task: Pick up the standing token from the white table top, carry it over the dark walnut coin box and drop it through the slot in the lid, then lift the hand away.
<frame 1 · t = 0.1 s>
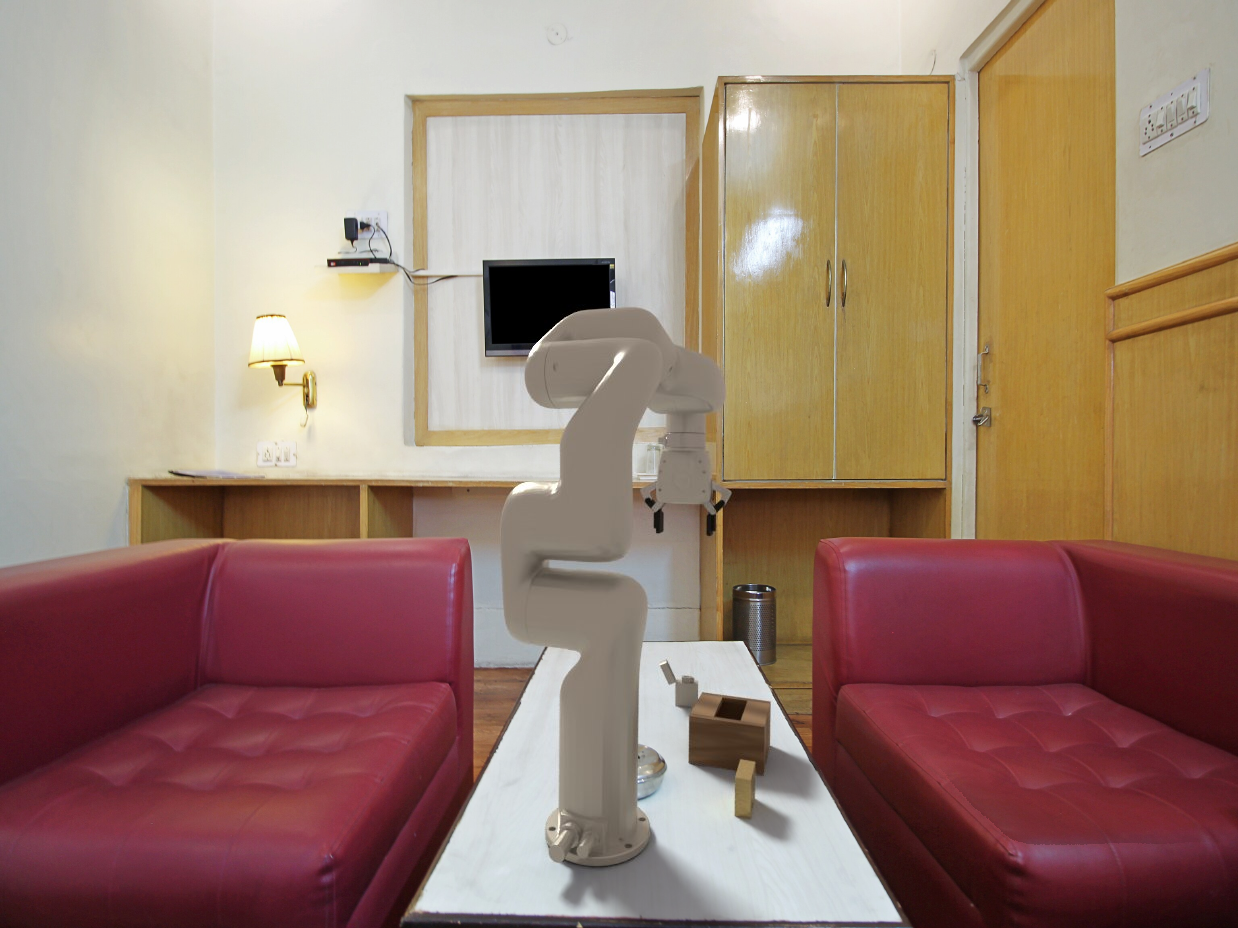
hand: (684, 534, 117), 31 cm above the table, tool pointing down, fingers open, 9 cm apart
token: (744, 807, 81), on the table
coin box: (730, 753, 95), on the table
lighter: (678, 705, 114), on the table
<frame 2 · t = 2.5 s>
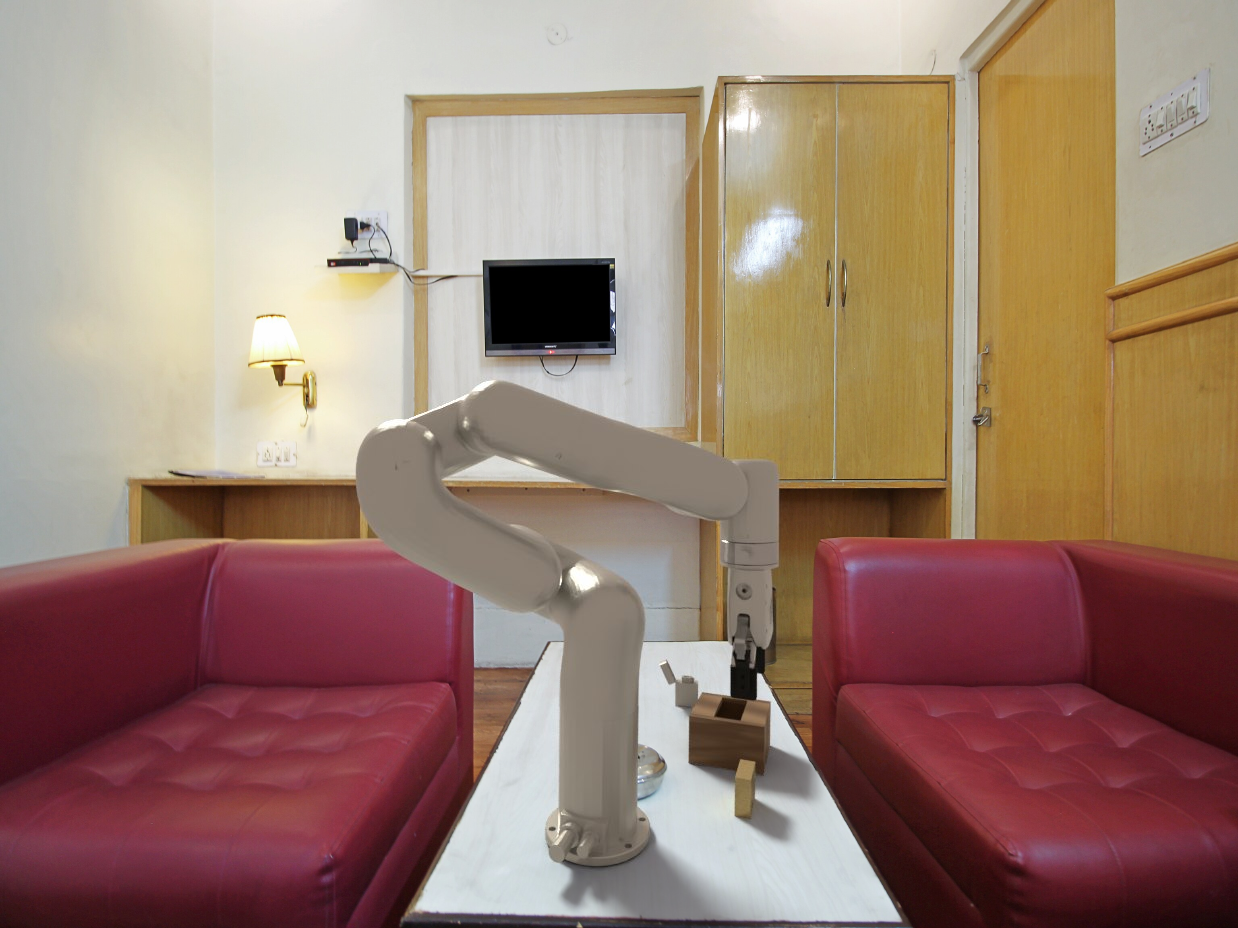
hand: (748, 684, 81), 16 cm above the table, tool pointing down, fingers open, 9 cm apart
nothing on the table moved.
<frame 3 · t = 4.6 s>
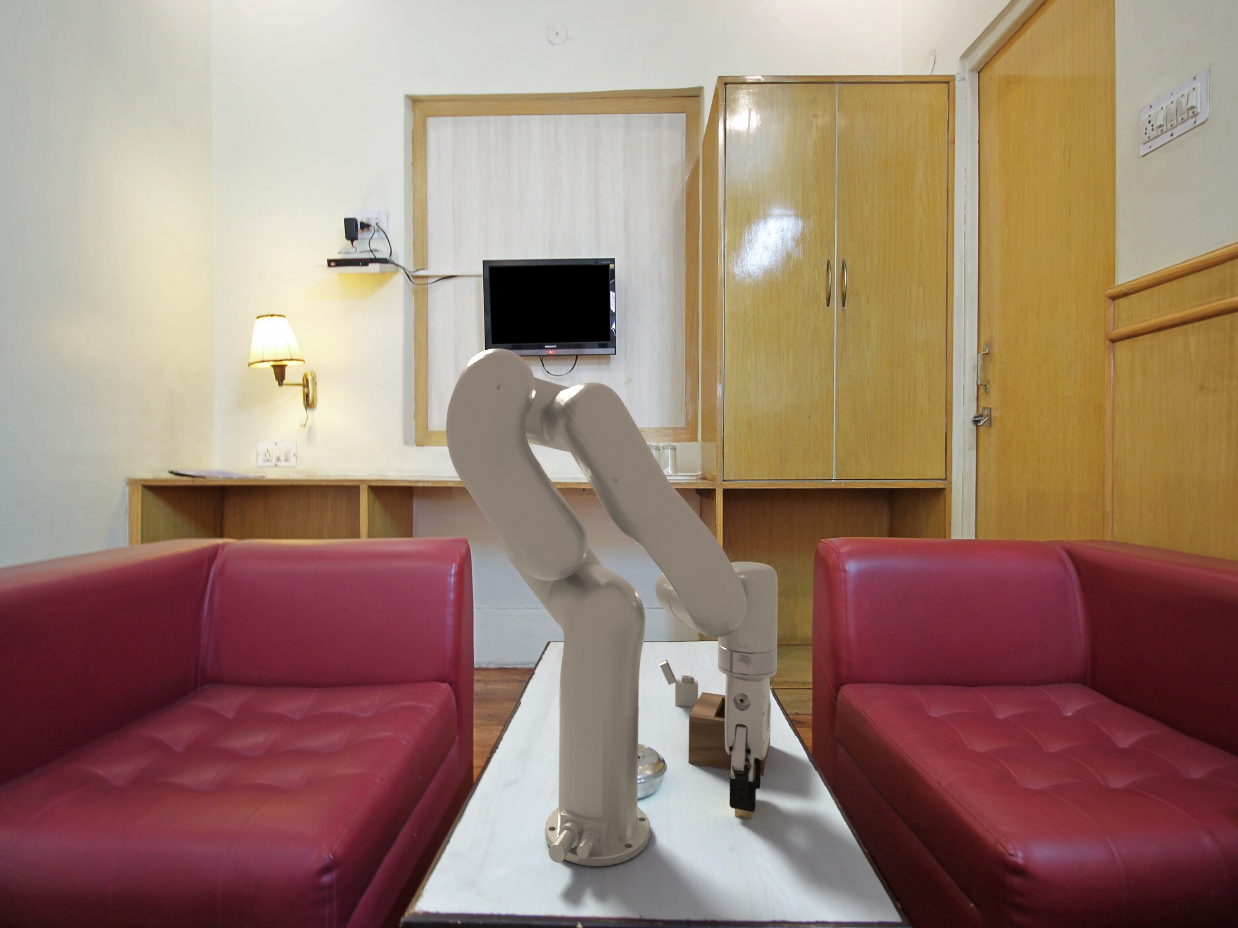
hand: (745, 795, 81), 1 cm above the table, tool pointing down, fingers closed on token, 4 cm apart
token: (745, 807, 81), on the table, touching gripper
everything else where it was.
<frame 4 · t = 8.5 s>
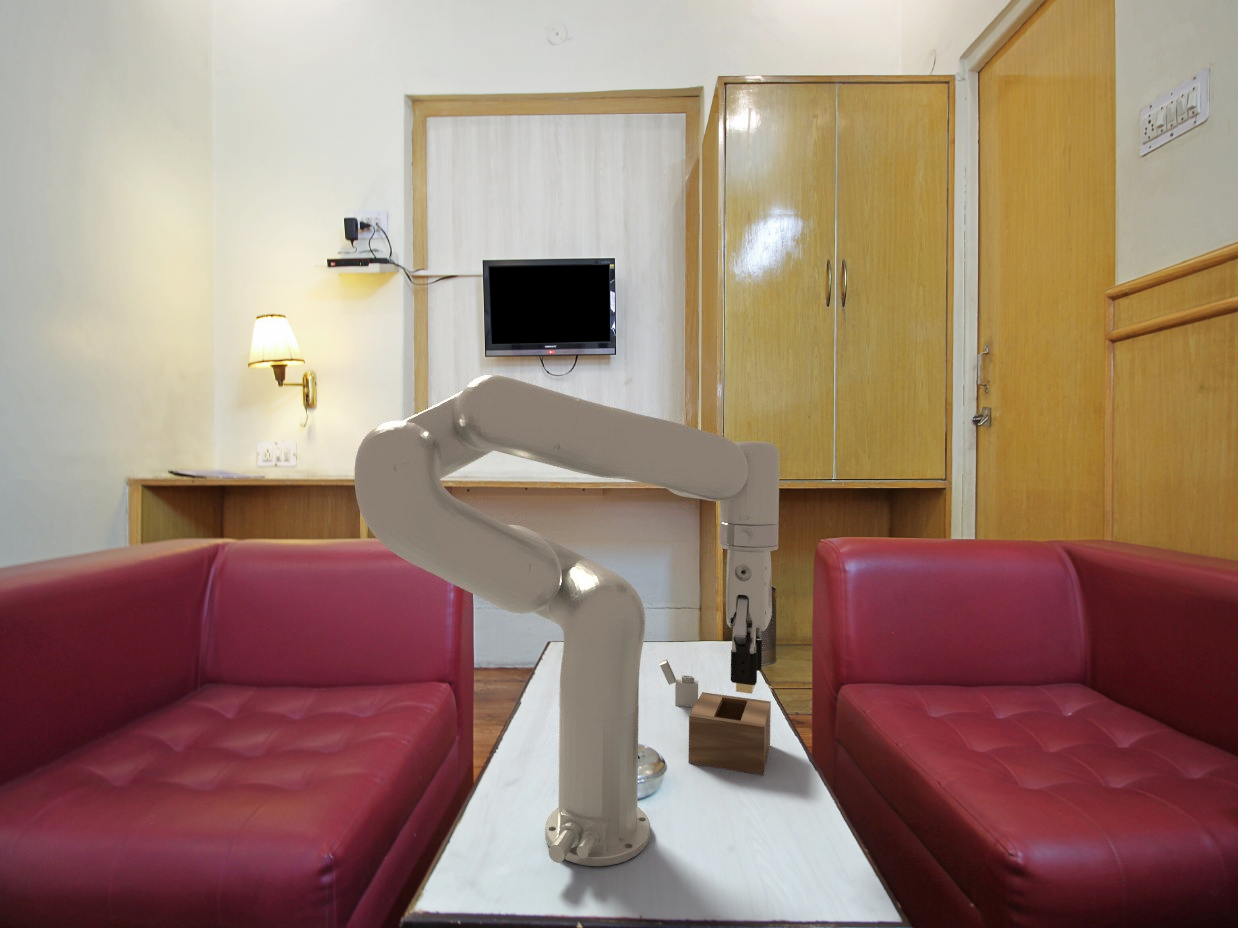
hand: (746, 674, 81), 17 cm above the table, tool pointing down, fingers closed on token, 4 cm apart
token: (746, 685, 81), point 16 cm above the table, touching gripper
everything else where it was.
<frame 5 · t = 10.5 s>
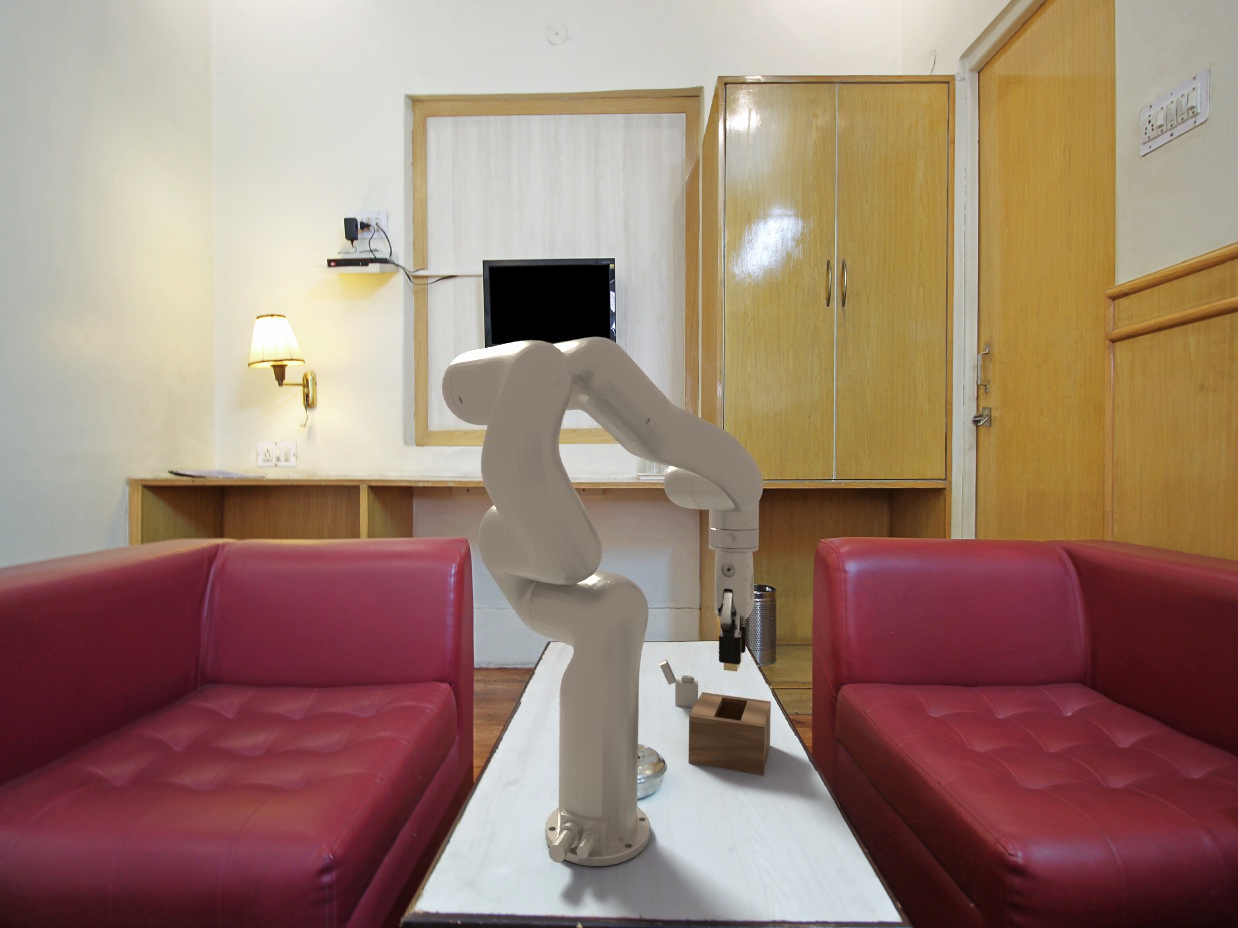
hand: (732, 655, 95), 15 cm above the table, tool pointing down, fingers closed on token, 4 cm apart
token: (732, 665, 95), point 14 cm above the table, touching gripper
everything else where it was.
when the fingers open (8 cm above the table, at t = 12.3 s): token drops 7 cm, resting on coin box.
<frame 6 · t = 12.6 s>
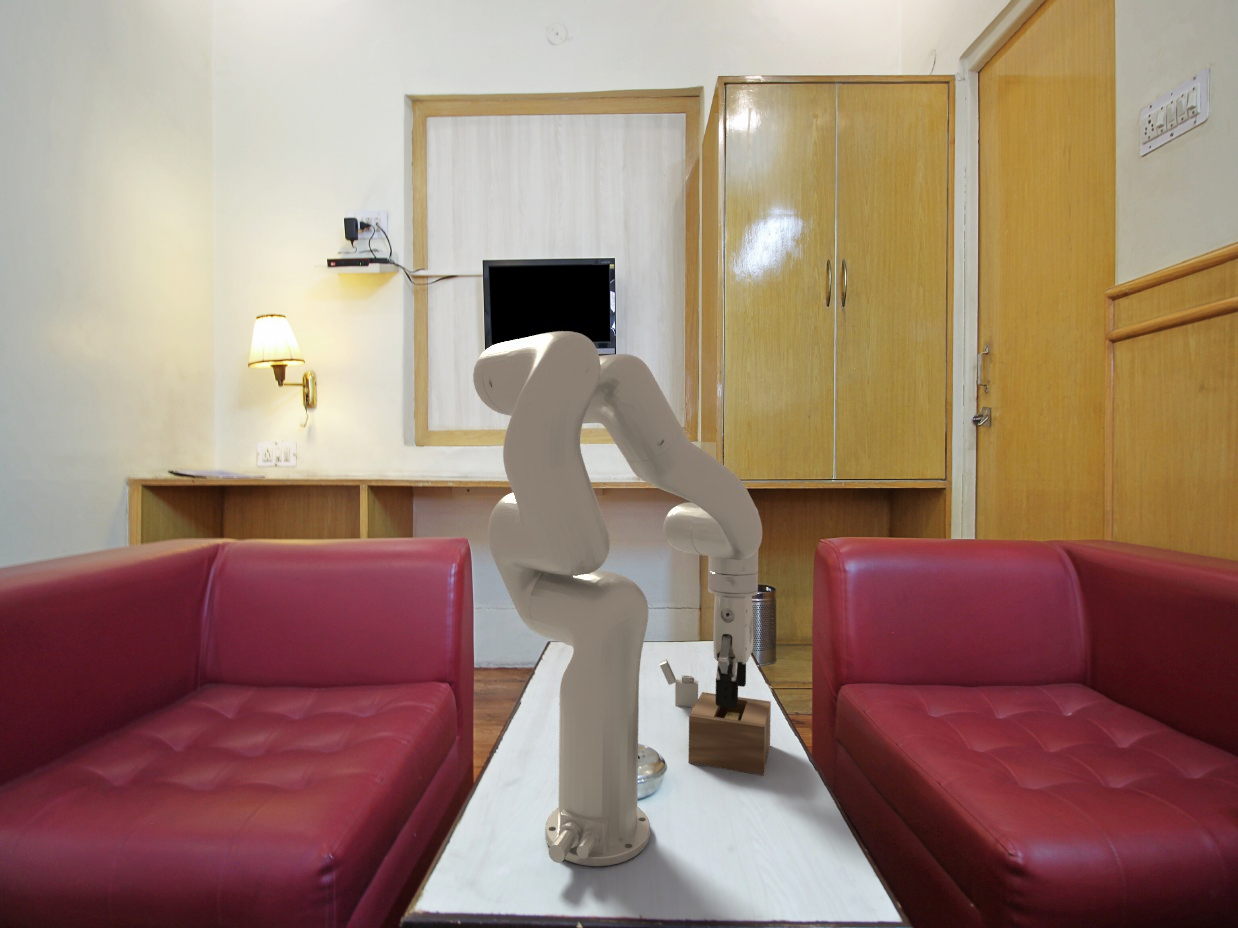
hand: (731, 694, 95), 9 cm above the table, tool pointing down, fingers open, 8 cm apart
token: (730, 751, 95), resting on coin box
everything else where it was.
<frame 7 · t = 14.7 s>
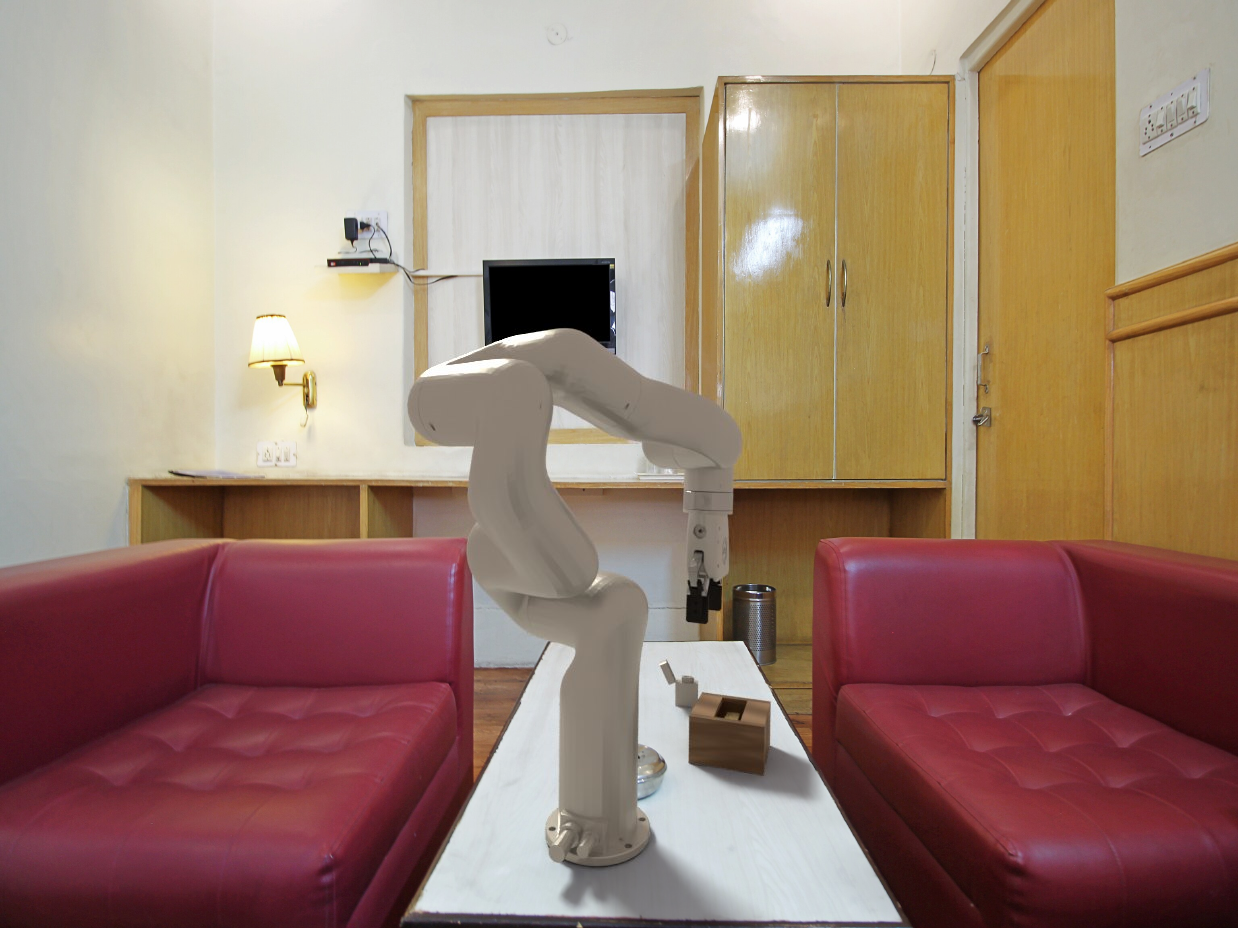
hand: (704, 615, 94), 21 cm above the table, tool pointing down, fingers open, 9 cm apart
nothing on the table moved.
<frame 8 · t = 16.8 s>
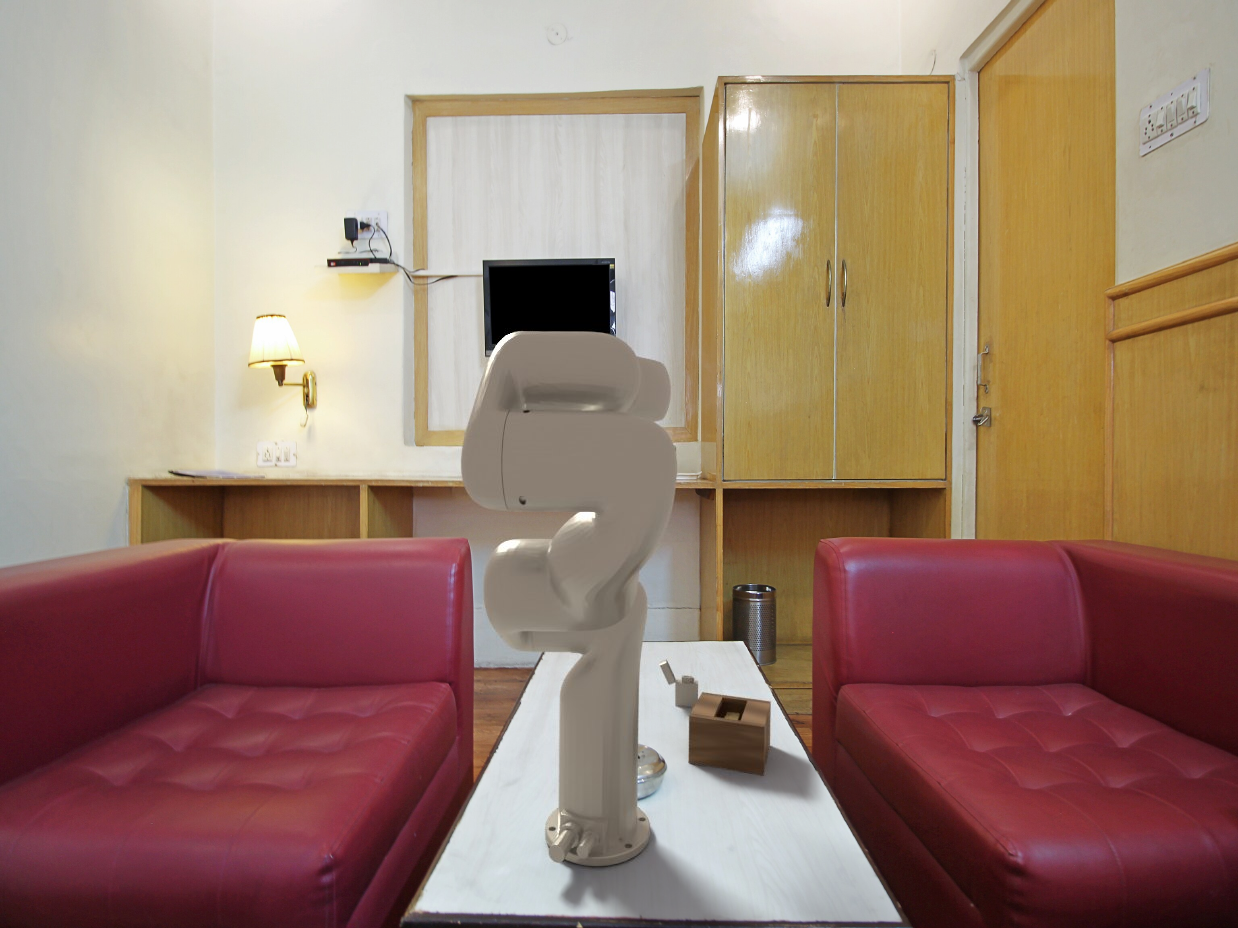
hand: (605, 571, 93), 28 cm above the table, tool pointing down, fingers open, 9 cm apart
nothing on the table moved.
at the end: token inside the target area on the coin box (0.0 cm from its centre), point 0.4 cm above the coin box's base; the gripper is holding nothing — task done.
